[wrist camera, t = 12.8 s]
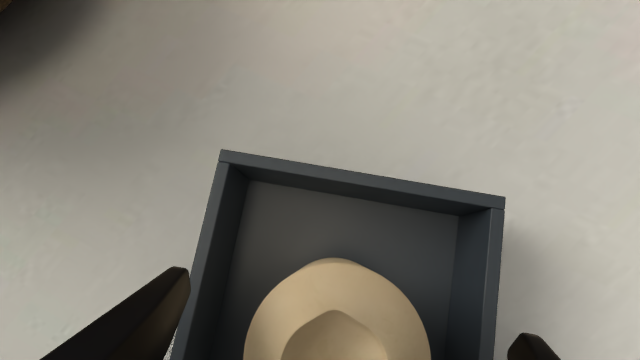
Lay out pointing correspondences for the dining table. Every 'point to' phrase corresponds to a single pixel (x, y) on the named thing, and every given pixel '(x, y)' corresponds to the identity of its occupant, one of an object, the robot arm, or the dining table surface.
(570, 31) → the dining table surface
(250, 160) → the dark gray square tray
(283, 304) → the candle
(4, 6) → the bowl
